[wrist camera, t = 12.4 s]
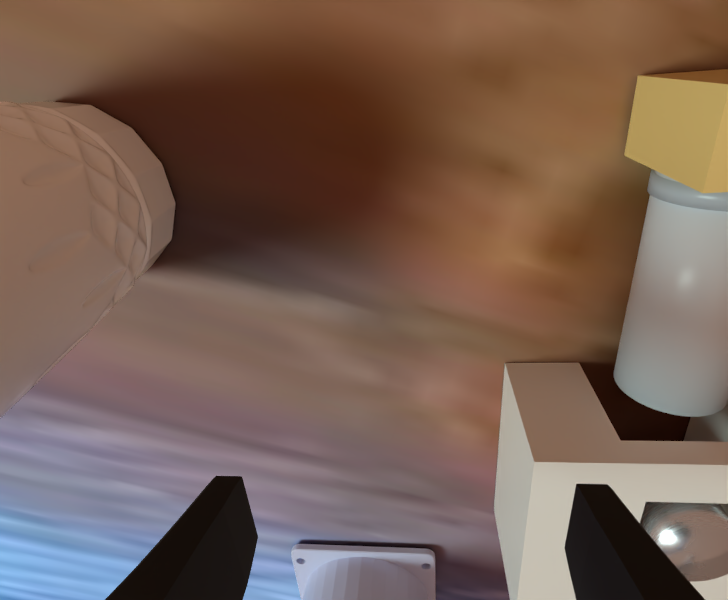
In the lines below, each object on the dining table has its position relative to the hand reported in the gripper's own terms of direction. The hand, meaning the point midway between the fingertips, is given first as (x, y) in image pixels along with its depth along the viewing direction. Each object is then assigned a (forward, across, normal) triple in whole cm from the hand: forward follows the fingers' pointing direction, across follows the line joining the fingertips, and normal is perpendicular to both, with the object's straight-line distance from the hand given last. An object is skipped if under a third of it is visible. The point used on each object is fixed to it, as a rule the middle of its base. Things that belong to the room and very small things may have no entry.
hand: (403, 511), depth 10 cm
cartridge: (+10, -10, -3) cm, 14 cm away
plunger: (+6, -10, +6) cm, 13 cm away
